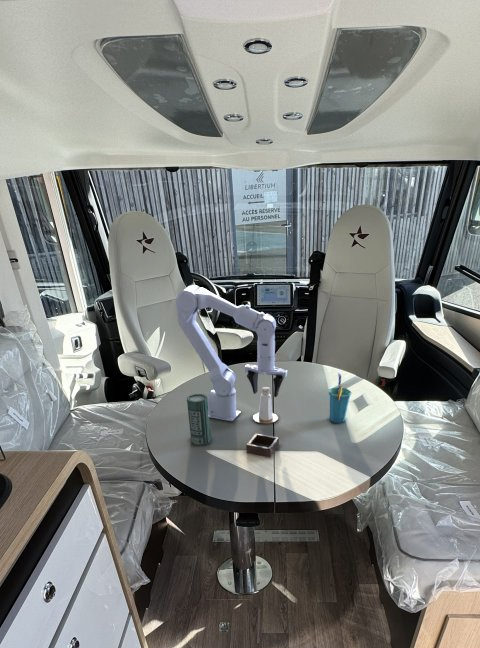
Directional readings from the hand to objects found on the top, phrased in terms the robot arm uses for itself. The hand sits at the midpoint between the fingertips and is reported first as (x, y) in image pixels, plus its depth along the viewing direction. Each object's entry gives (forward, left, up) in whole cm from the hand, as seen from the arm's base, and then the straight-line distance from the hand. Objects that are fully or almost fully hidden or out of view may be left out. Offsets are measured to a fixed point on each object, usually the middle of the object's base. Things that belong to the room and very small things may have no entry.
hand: (265, 394), depth 153 cm
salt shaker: (0, 0, -9) cm, 9 cm away
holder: (+7, -21, -9) cm, 24 cm away
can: (-14, -23, -9) cm, 29 cm away
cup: (+24, +9, -9) cm, 27 cm away
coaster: (0, 0, -9) cm, 9 cm away
